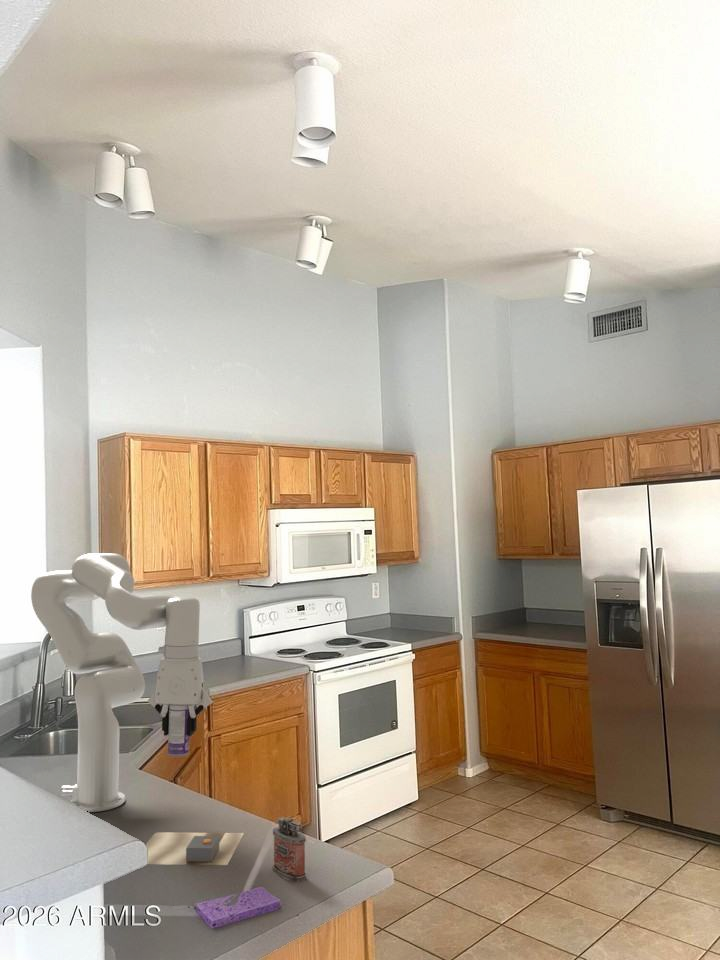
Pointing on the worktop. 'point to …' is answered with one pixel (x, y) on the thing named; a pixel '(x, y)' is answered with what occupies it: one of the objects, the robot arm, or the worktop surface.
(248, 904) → the sponges
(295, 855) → the lighter
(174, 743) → the container
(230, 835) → the board
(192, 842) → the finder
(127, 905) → the worktop surface
